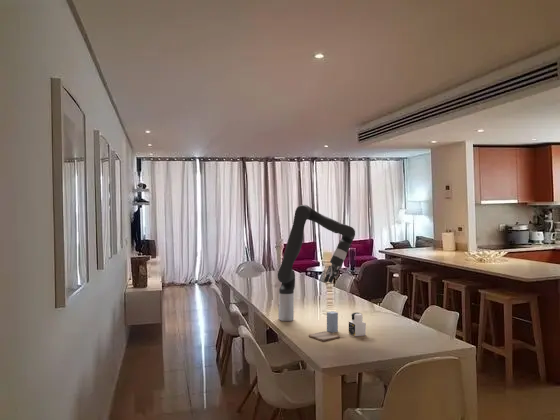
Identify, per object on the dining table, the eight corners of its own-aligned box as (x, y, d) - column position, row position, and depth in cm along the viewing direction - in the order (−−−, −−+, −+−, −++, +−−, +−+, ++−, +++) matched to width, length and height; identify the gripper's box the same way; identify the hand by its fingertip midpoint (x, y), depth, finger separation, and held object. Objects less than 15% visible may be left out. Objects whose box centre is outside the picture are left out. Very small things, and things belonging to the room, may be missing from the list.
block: (326, 331, 263) (326, 312, 263) (332, 329, 266) (332, 311, 266) (332, 332, 260) (332, 313, 260) (337, 331, 263) (337, 312, 262)
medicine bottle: (348, 333, 259) (348, 312, 259) (359, 332, 261) (359, 311, 261) (354, 336, 252) (354, 315, 252) (365, 335, 255) (365, 314, 255)
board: (308, 336, 252) (308, 334, 252) (324, 332, 259) (324, 331, 259) (323, 341, 243) (323, 339, 243) (339, 337, 250) (339, 336, 250)
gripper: (329, 255, 279) (318, 279, 276) (337, 254, 265) (325, 279, 262) (339, 260, 280) (329, 284, 277) (348, 260, 266) (337, 285, 263)
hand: (327, 282), depth 269 cm, fingers open, 8 cm apart
